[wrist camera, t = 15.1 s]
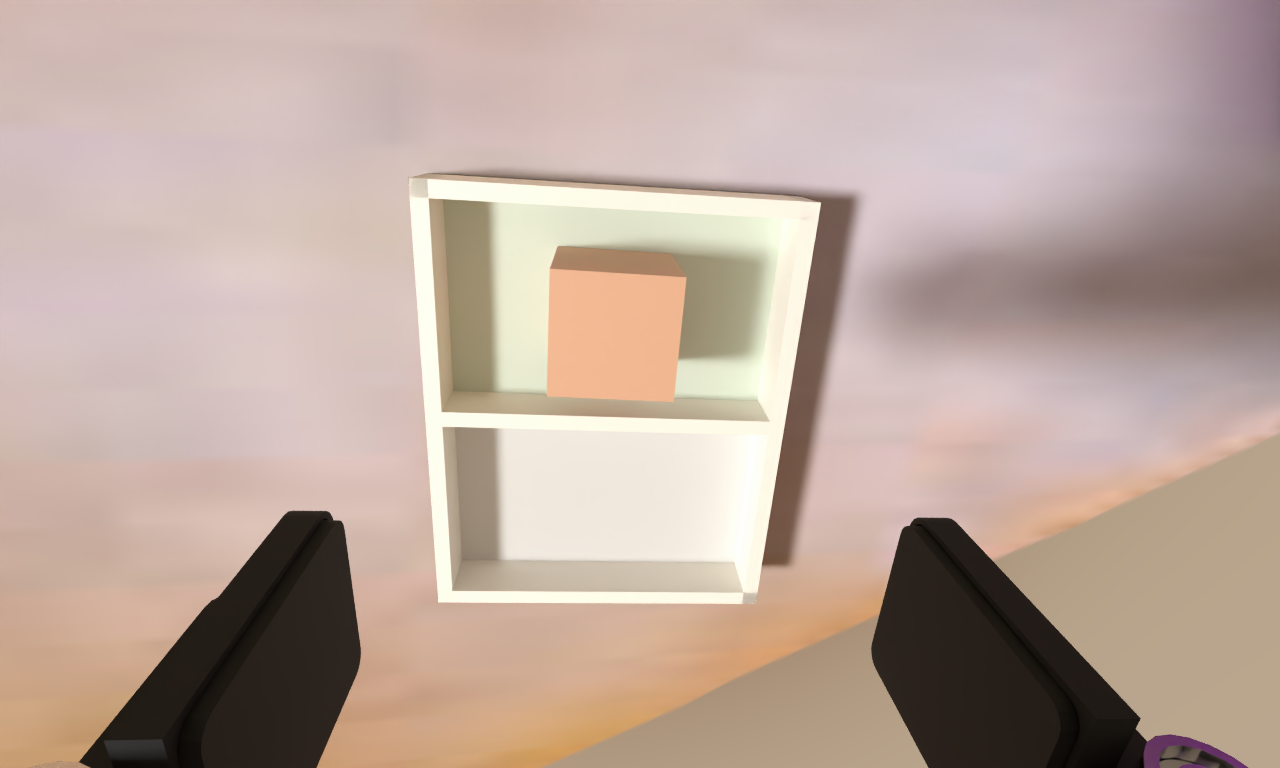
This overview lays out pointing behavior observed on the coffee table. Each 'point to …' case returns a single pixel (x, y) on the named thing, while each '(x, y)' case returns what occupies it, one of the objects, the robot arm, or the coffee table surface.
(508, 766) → the coffee table surface
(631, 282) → the plain light orange cube
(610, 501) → the sorting box
